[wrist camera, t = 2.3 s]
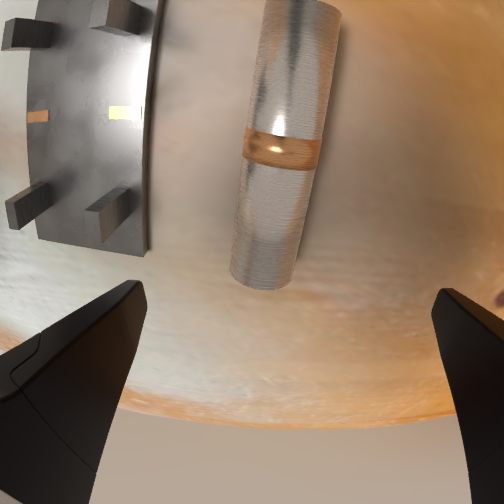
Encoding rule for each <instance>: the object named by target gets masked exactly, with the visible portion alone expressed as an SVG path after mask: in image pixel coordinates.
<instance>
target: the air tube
mask: <svg viewBox="0 0 504 504" xmlns="http://www.w3.org/2000/svg"><path fill="white" fill-rule="evenodd" d="M341 16H342V14H341V12H340V11H339V10H338V9H337V8H335V7H333V6H331V5H329V4H327V3H324V2H321V1H318V0H266V2H265V7H264V13H263V20H262V26H261V33H260V39H259V46H258V53H257V59H256V66H255V73H254V80H253V87H252V94H251V101H250V108H249V116H248V123H247V126H246V131H245V138H244V146H243V154H242V156H243V161H242V169H241V177H240V184H239V192H238V201H237V209H236V217H235V225H234V234H233V243H232V251H231V260H230V273H231V275H232V276H233V277H234V278H235V279H236V280H237V281H238V282H240V283H241V284H243V285H246V286H248V287H251V288H255V289H260V290H274V289H279V288H282V287H284V286H286V285H287V284H288V283H289V282H290V281H291V278H292V274H293V270H294V266H295V262H296V257H297V253H298V249H299V244H300V240H301V235H302V231H303V226H304V222H305V217H306V213H307V208H308V203H309V199H310V194H311V189H312V184H313V180H314V175H315V170H316V168H317V164H318V159H319V154H320V149H321V144H322V134H323V128H324V123H325V117H326V112H327V106H328V100H329V94H330V89H331V83H332V77H333V70H334V64H335V58H336V51H337V44H338V38H339V31H340V24H341Z"/></svg>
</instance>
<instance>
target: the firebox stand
mask: <svg viewBox="0 0 504 504" xmlns="http://www.w3.org/2000/svg"><path fill="white" fill-rule="evenodd" d="M163 5H164V0H39V1H38V6H37V11H36V16H35V20H32V19H24V18H14V19H11V20H9V21H6V22H5V28H4V34H3V41H2V48H1V51H16V50H30V58H29V69H28V84H27V150H28V165H29V177H30V187H28V188H27V189H25V190H23V191H21V192H20V193H18V194H16V195H15V196H13V197H11V198H10V199H8V200H6V201H5V206H6V212H7V217H8V223H9V228H10V229H14V230H20V229H21V228H22V227H24V226H25V225H26V224H28V223H29V222H30V221H32V220H33V219H35V223H36V228H37V234H38V239H42V240H47V241H53V242H58V243H64V244H69V245H75V246H80V247H86V248H92V249H98V250H103V251H109V252H115V253H121V254H127V255H133V256H139V257H144V255H145V254H146V253H147V251H148V235H147V168H148V141H149V123H150V109H151V97H152V86H153V76H154V67H155V58H156V50H157V43H158V36H159V29H160V23H161V17H162V11H163Z"/></svg>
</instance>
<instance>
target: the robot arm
mask: <svg viewBox="0 0 504 504" xmlns="http://www.w3.org/2000/svg"><path fill="white" fill-rule="evenodd" d="M146 312H147V300H146V296H145V292H144V287H143V284H142V282H141V281H139V280H127V281H125V282H124V283H122V284H120V285H118V286H117V287H115V288H113V289H111V290H110V291H108V292H106V293H105V294H103V295H101V296H99V297H98V298H96V299H94V300H93V301H91V302H89V303H88V304H86V305H84V306H83V307H81V308H79V309H78V310H76V311H74V312H72V313H71V314H69V315H67V316H66V317H64V318H63V319H61V320H59V321H58V322H56V323H54V324H53V325H51V326H49V327H48V328H46V329H44V330H43V331H42V332H41V333H38V334H36V335H35V336H33V337H32V338H30V339H28V340H27V341H25V342H23V343H22V344H20V345H18V346H16V347H15V348H13V349H11V350H9V351H7V352H6V353H4V354H2V355H0V504H89V500H90V496H91V493H92V489H93V485H94V481H95V477H96V472H97V470H98V466H99V463H100V459H101V456H102V453H103V449H104V446H105V443H106V439H107V436H108V433H109V429H110V427H111V423H112V420H113V417H114V414H115V411H116V408H117V405H118V402H119V399H120V396H121V394H122V391H123V388H124V385H125V382H126V379H127V376H128V374H129V371H130V368H131V365H132V363H133V360H134V357H135V354H136V351H137V347H138V343H139V339H140V335H141V331H142V328H143V324H144V320H145V316H146ZM431 316H432V321H433V325H434V329H435V333H436V337H437V342H438V346H439V351H440V355H441V359H442V362H443V366H444V369H445V372H446V376H447V379H448V383H449V386H450V390H451V393H452V397H453V401H454V405H455V409H456V413H457V417H458V422H459V426H460V431H461V435H462V440H463V445H464V450H465V456H466V462H467V468H468V472H469V473H468V475H469V483H470V490H471V499H472V504H504V320H502V319H500V318H499V317H497V316H496V315H494V314H493V313H491V312H490V311H488V310H487V309H485V308H483V307H482V306H480V305H479V304H477V303H475V302H474V301H472V300H471V299H469V298H467V297H466V296H464V295H463V294H461V293H459V292H458V291H456V290H454V289H453V288H442V289H440V290H439V292H438V295H437V297H436V300H435V303H434V305H433V308H432V312H431Z"/></svg>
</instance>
